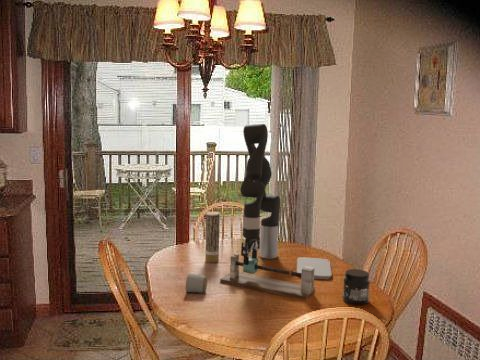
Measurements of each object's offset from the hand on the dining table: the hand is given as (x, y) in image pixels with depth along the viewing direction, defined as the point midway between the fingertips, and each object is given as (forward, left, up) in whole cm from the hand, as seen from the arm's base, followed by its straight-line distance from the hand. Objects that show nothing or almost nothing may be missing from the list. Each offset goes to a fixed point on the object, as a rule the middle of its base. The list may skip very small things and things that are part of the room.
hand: (250, 262), depth 204 cm
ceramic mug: (+19, -16, -10) cm, 27 cm away
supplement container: (-4, +46, -10) cm, 47 cm away
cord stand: (0, +8, -10) cm, 13 cm away
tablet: (-32, +20, -10) cm, 39 cm away
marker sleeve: (0, 0, -4) cm, 4 cm away
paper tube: (-18, -30, -10) cm, 36 cm away
